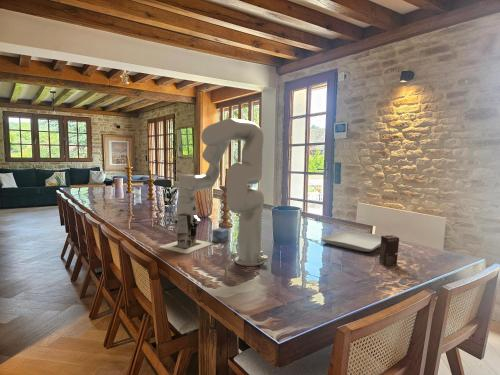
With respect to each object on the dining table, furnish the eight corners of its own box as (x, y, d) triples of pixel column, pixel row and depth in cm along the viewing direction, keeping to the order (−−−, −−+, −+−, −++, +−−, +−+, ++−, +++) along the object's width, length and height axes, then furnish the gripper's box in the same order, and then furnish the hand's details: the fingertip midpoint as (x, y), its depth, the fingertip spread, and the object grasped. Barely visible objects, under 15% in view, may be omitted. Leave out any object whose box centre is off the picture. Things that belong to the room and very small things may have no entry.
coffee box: (189, 248, 157) (189, 215, 155) (176, 247, 158) (176, 214, 157) (196, 243, 166) (196, 212, 164) (184, 242, 167) (184, 211, 166)
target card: (213, 243, 166) (213, 243, 166) (186, 253, 149) (186, 253, 149) (186, 238, 175) (186, 237, 175) (158, 247, 158) (158, 246, 158)
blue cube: (228, 240, 174) (228, 229, 173) (221, 242, 168) (221, 231, 168) (219, 238, 177) (219, 227, 176) (212, 241, 172) (212, 229, 171)
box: (385, 266, 137) (387, 238, 136) (378, 262, 141) (380, 235, 140) (398, 265, 138) (399, 237, 137) (391, 262, 143) (392, 234, 141)
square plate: (392, 245, 171) (392, 237, 170) (370, 256, 151) (371, 248, 150) (344, 235, 189) (344, 228, 189) (319, 244, 169) (319, 237, 169)
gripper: (205, 200, 158) (205, 235, 160) (178, 197, 167) (179, 231, 169) (195, 202, 152) (195, 239, 154) (168, 199, 161) (168, 234, 163)
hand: (186, 234), depth 162 cm, fingers closed on coffee box, 7 cm apart
